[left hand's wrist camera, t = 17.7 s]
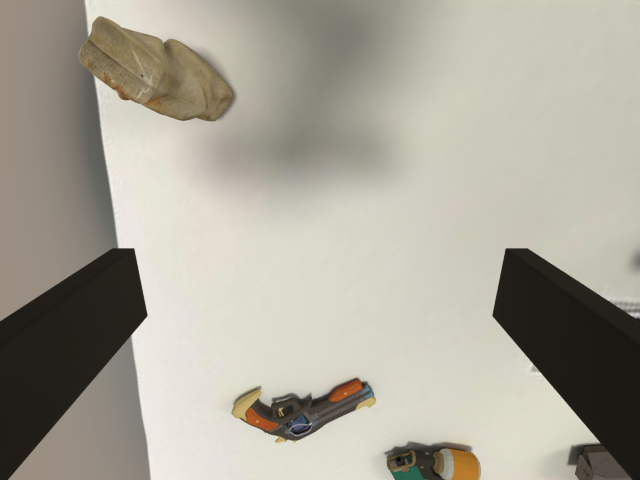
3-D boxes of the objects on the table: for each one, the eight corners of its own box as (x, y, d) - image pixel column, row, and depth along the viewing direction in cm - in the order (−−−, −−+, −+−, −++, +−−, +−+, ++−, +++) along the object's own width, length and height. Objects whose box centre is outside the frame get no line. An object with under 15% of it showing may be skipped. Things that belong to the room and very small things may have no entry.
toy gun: (225, 413, 48) (263, 465, 50) (345, 351, 46) (379, 407, 48) (230, 400, 51) (266, 450, 53) (343, 341, 49) (376, 395, 51)
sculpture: (191, 36, 34) (102, -18, 20) (247, 90, 36) (201, 75, 22) (158, 82, 36) (53, 62, 22) (213, 132, 38) (150, 144, 23)
